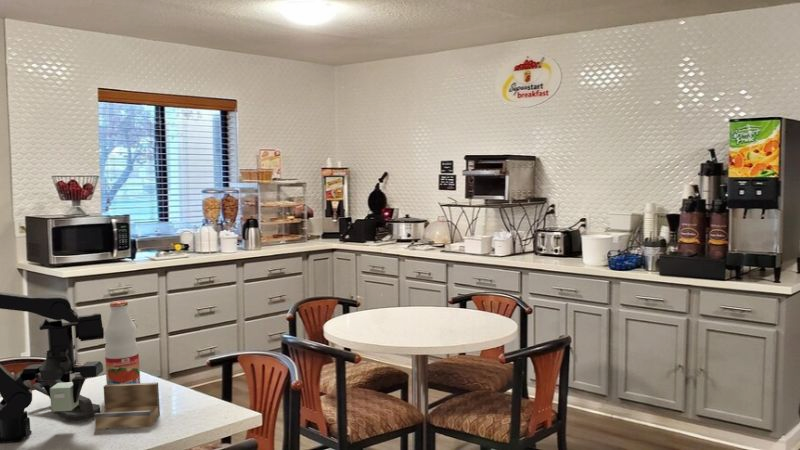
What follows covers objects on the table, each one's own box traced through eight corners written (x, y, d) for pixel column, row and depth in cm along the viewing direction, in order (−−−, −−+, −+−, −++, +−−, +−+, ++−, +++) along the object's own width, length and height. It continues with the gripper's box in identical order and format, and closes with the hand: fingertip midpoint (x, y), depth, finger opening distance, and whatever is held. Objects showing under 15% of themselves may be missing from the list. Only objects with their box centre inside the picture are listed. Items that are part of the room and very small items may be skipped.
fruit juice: (138, 387, 220) (133, 297, 217) (143, 395, 211) (137, 302, 209) (105, 392, 215) (100, 301, 213) (109, 401, 207) (103, 306, 205)
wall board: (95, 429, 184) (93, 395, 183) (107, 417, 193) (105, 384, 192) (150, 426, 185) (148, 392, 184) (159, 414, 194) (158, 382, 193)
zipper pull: (59, 377, 210) (104, 391, 195) (60, 398, 211) (105, 414, 195) (28, 384, 203) (72, 400, 188) (29, 407, 204) (74, 424, 188)
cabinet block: (50, 412, 181) (48, 389, 181) (59, 405, 187) (57, 382, 186) (70, 411, 181) (68, 388, 181) (78, 404, 187) (77, 381, 187)
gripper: (8, 353, 175) (13, 415, 176) (86, 350, 176) (90, 411, 177) (29, 342, 186) (33, 401, 187) (102, 339, 187) (105, 397, 188)
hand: (65, 403), depth 184 cm, fingers closed on cabinet block, 5 cm apart
